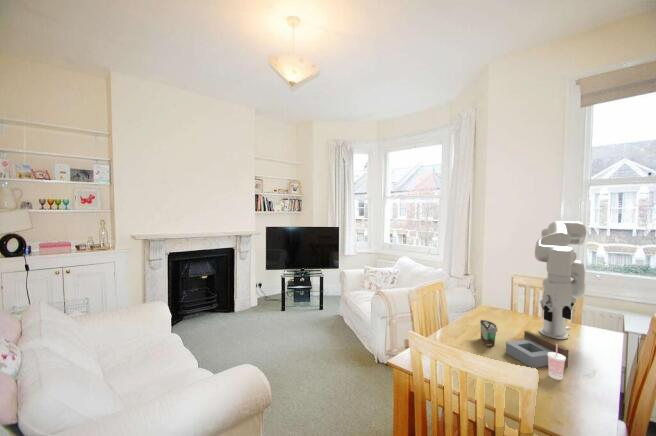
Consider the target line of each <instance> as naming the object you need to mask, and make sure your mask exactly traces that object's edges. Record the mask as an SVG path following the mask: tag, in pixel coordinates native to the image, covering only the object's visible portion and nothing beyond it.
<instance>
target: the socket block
mask: <svg viewBox="0 0 656 436" xmlns="http://www.w3.org/2000/svg"><path fill="white" fill-rule="evenodd" d="M548 352H554V351H552V350H550V349H548V348H546V347H544V346H542V345H540V344H538V343H536V342H534V341H532V340H530V339H527V340H524V339H521V340H514V341H507V342H505V353H506V354H508V355H509V356H511V357H513V358H514V359H516V360H518V361H520V362H521V364H524V365H526V366H527V365H528V367H529V368H531V367H534V368H533V369H536V367H537V368H542V367H543V368H544V367H548V356H547V353H548Z"/></svg>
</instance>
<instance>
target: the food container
mask: <svg viewBox="0 0 656 436" xmlns="http://www.w3.org/2000/svg"><path fill="white" fill-rule="evenodd" d="M497 332H498V327H497V324H496V323H494V322H492V321H489V320H485V319H480V340H481V342H482V343H483V344H484V345H485V347H486V348H493V347H494V346H495V343H496V333H497Z"/></svg>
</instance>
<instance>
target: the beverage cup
mask: <svg viewBox="0 0 656 436" xmlns="http://www.w3.org/2000/svg"><path fill="white" fill-rule="evenodd" d="M555 344H556V352H548V353H547V356H548V366H547V367H548V376H549V377H551V378H552V379H554V380H559V381H560V380H562V381H563V377H564V369H565V368H564V363H565V360H566V357H565V356H563V355H562V354H559V353H557V348H558V345H559V344H558V343H555Z"/></svg>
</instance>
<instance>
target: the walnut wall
mask: <svg viewBox="0 0 656 436" xmlns="http://www.w3.org/2000/svg"><path fill="white" fill-rule="evenodd" d="M523 333H524V334H523V337H524V338H523V340H527V339H530V340H532V341H534V342H536V343H538V344H540V345H542V346H544V347H546V348H548V349H550V350H552V351H554V352H556V344H557V343H554V341H552V340H549V339H546V338H544V337H542V336H541V335H538V334H535V333H534V332H532V331H529V330H524V332H523ZM569 352H570V350H569V349H568V348H567V347H566V348H565V347H564V346H562V345H559V344H558V348H557V353H559V354H562V355H563V356H565V357H566V360H565V363H564V369H566V368H569Z"/></svg>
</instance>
